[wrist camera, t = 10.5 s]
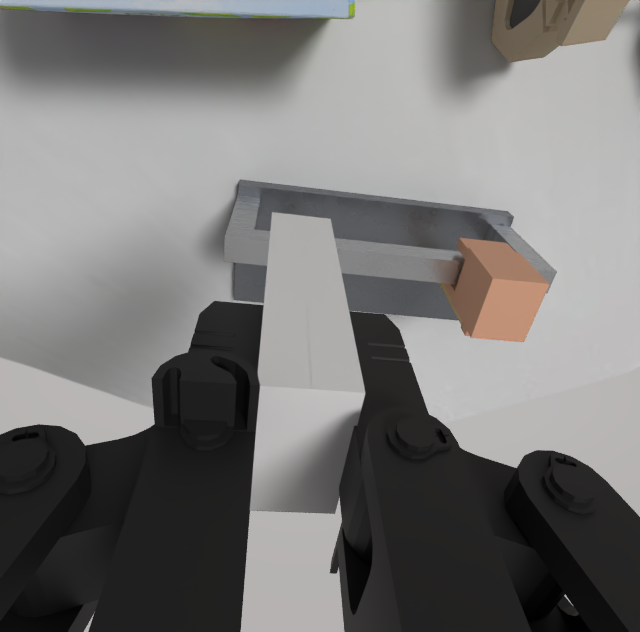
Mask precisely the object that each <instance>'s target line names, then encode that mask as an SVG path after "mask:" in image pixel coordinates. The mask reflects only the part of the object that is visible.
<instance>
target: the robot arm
mask: <svg viewBox="0 0 640 632" xmlns="http://www.w3.org/2000/svg"><path fill="white" fill-rule="evenodd" d="M152 391H153V406H154V420H155V424H154V425H153V426H151V427H150V428H148V429H146V430H144V431H142V432H140V433H138V434H136V435H133V436H129V437H126V438H122V439H118V440H112V441H108V442H102V443H98V444H92V445H87V446H85V445H84V444H83V442H82V441H81V440H80V438H79V437H78V435H77V434H76V433H74V432H72V431H69V430H67V429H65V428H63V427H61V426H50V425H33V426H28V427H22V428H16V429H13V430H11V431H8V432H6V433H3V434H1V435H0V632H84V630H85V628H86V626H87V625H88V623H89V621H90V619H91V617H92V616H93V614H94V616H93V620H92V623H91V626H90V629H89V632H240V630H241V617H242V605H243V592H244V578H245V565H246V553H247V539H248V527H249V514H250V511H275V512H305V513H330V514H331V513H332V514H335V511H336V507H337V503H338V500H339V496H340V505H341V514H342V523H341V527H340V531H339V535H338V538H337V542H336V546H335V549H334V553H333V557H332V561H331V569H330V573H337V570H338V567H339V571H340V583H341V596H342V607H343V618H344V630H345V632H640V517H639V516H638V515H637V514H636V512H635V511H634V510H633V509H632V508H631V507H630V506H629V505H628V504H627V503H626V502H625V501H624V500H623V499H622V497H621V496H620V495H619V494H618V493H617V492H616V491H615V490H614V489H613V488H612V487H611V486H610V485H609V483H608V482H607V481H606V480H604V479H603V478H602V477H601V476H600V475H599V474H598V473H596V472H595V471H594V470H593V469H592V468H590V467H589V466H587V465H586V464H584V463H582V462H580V461H578V460H577V459H575V458H573V457H571V456H568V455H565V454H562V453H558V452H555V451H540V450H538V451H534V452H532V453H529V454H527V455H525V456H524V457H523V459H522V461H521V462H520V464H519V466H518V467H517V468H514V467H510V466H508V465H504V464H501V463H498V462H495V461H492V460H489V459H485V458H483V457H479V456H477V455H474V454H472V453H469V452H467V451H465V450H463V449H461V448H460V447H459V445H458V442H457V441H456V439H455V437H454V436H453V434H452V433H451V431H450V429H448V428H447V427H446V426H445V425H444V424H442V423H441V422H440V421H439V420H438V419H437V418H435V417H433V416H431V415H429V414H428V411H427V408H426V405H425V402H424V399H423V396H422V394H421V391H420V388H419V385H418V382H417V379H416V376H415V373H414V371H413V368H412V365H411V363H409V356H408V353H407V350H406V349H405V345H404V342H403V339H402V336H401V333H400V330H399V329H398V328H397V327H396V326H395V325H394V324H393V322H392V321H391V320H390V319H389V318H388V317H387V316H386V315H384V314H373V313H362V312H351V311H349V308H348V303H347V298H346V293H345V288H344V283H343V278H342V273H341V268H340V263H339V258H338V253H337V248H336V243H335V238H334V233H333V228H332V223H331V219H328V218H319V217H311V216H302V215H293V214H284V213H275V212H272V219H271V230H270V241H269V252H268V263H267V274H266V285H265V296H264V305H253V304H242V303H231V302H220V301H214V302H213V303H212V304H210V305H209V306H208V307H207V308H206V309H205V310H204V311H203V312H201V313H200V315H199V318H198V321H197V325H196V328H195V333H194V335H193V338H192V341H191V346H190V348H189V351H188V353H185V354H181V355H178V356H175V357H173V358H172V359H170V360H169V361H167V362H165V363H164V364H162V365H161V366H160V367H159V369H158V370H157V371H156V373H155V374H154V376H153V377H152ZM565 594H566V595H567V597H568V599H569V600H570V601H571V603H572V604H573V606H572V605H571V603H570V602H569V601H568V600H567V599H566V598H565V597H564V595H565ZM94 612H95V613H94Z"/></svg>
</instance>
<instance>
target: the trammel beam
mask: <svg viewBox="0 0 640 632" xmlns="http://www.w3.org/2000/svg"><path fill="white" fill-rule="evenodd" d="M259 210H260V198H255V197H246V196H238V197H237V200H236V203H235V206H234V209H233V213H232V216H231V219H230V222H229V225H228V228H227V231H226V234H225V239H224V262H234V263H244V264H254V265H265V266H267V263H268V252H269V241H270V231H264V230H257V227H258V221H259ZM485 241H494V242H503V243H508V244H509V246H510V247H511V248H512V249H513V250H514V251H515V252H517V253H520V254H521V255H522V256H523V257H524V258H525V259H526V260H527V261H528V262H529V263H530V264H531V265H532V266H533V267H534V268H535V269H536V270H537V271H538V272H539V274H540V275H541V276H542V277H543V278H544V279H545V280H546V281H547V282H548V283H549V284H550V285H549V287H548V289H547V291H546V293H548V290H549V288H550V286H551V284H552V281H553V279H554V277H555V275H556V273H557V271H556V270H555V269H554V268H553V267H552V266H550V265H549V264H548V263H547V262H546V261H545V260H544V259H543V258H542V257H541V256H540V255H539V254H538V253H537V252H536V251H535V250H534V249H533V248H532V247H531V246H530V245H529V244H528V243H527V242H526V241H525V240H524V239H522V238H521V237H520V236H519V235H518V234H517V233H516V232H515V231H514V230H513V229H512V228H511V227H508V226H499V225H490V228H489V231H488V233H487V236H486V239H485ZM335 243H336V248H337V253H338V258H339V263H340V268H341V273H345V274H355V275H365V276H376V277H386V278H396V279H406V280H416V281H426V282H436V283H446V284H456V285H457V283H458V280H459V277H460V274H461V271H462V268H463V265H464V262H465V258H464V257H463V255H462V254H461V253H460V251H451V250H441V249H432V248H423V247H413V246H404V245H395V244H385V243H376V242H367V241H357V240H348V239H339V238H335Z"/></svg>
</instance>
